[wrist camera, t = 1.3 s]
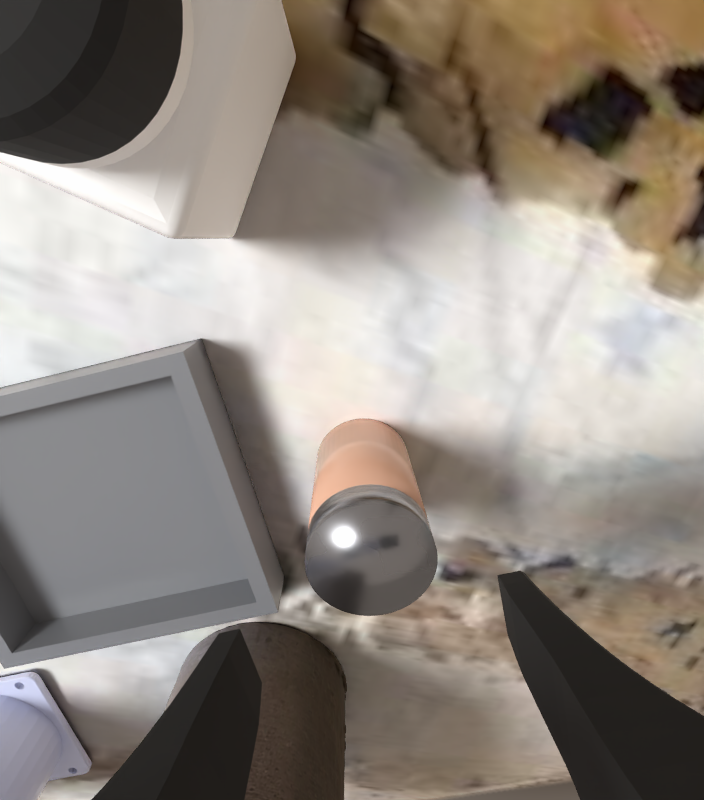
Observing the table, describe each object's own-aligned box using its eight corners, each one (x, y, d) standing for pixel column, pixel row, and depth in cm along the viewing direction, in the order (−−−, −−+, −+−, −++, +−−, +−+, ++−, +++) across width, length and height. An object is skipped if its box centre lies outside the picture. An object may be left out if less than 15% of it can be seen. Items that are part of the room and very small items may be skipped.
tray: (35, 628, 26) (4, 668, 23) (-92, 410, 22) (-146, 431, 19) (284, 576, 25) (278, 612, 22) (201, 338, 21) (182, 351, 18)
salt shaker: (329, 509, 24) (323, 626, 16) (306, 430, 22) (288, 520, 15) (416, 490, 23) (447, 601, 16) (398, 409, 22) (424, 491, 15)
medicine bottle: (300, 54, 17) (217, -293, 6) (234, 241, 19) (80, 247, 8) (107, -47, 16) (-429, -695, 5) (60, 162, 18) (-398, 40, 7)
